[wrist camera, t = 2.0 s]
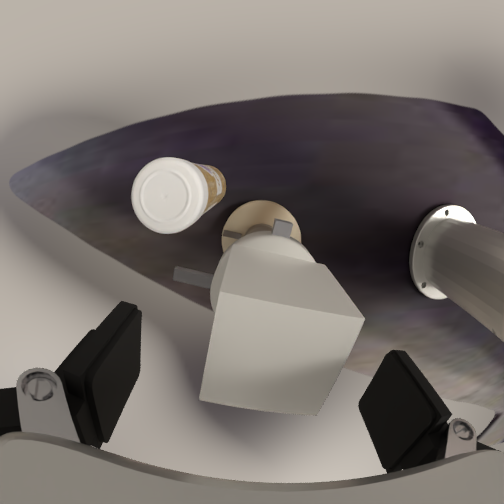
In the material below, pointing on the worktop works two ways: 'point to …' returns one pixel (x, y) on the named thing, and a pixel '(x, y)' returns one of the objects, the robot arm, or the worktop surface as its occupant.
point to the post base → (256, 221)
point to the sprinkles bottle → (175, 193)
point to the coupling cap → (274, 325)
